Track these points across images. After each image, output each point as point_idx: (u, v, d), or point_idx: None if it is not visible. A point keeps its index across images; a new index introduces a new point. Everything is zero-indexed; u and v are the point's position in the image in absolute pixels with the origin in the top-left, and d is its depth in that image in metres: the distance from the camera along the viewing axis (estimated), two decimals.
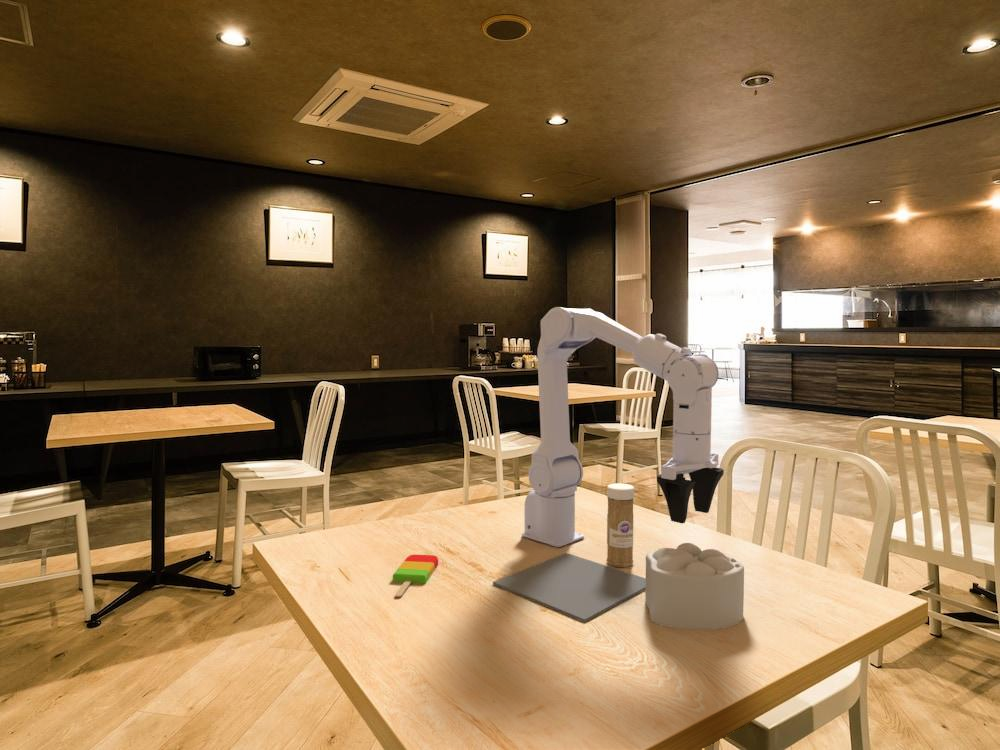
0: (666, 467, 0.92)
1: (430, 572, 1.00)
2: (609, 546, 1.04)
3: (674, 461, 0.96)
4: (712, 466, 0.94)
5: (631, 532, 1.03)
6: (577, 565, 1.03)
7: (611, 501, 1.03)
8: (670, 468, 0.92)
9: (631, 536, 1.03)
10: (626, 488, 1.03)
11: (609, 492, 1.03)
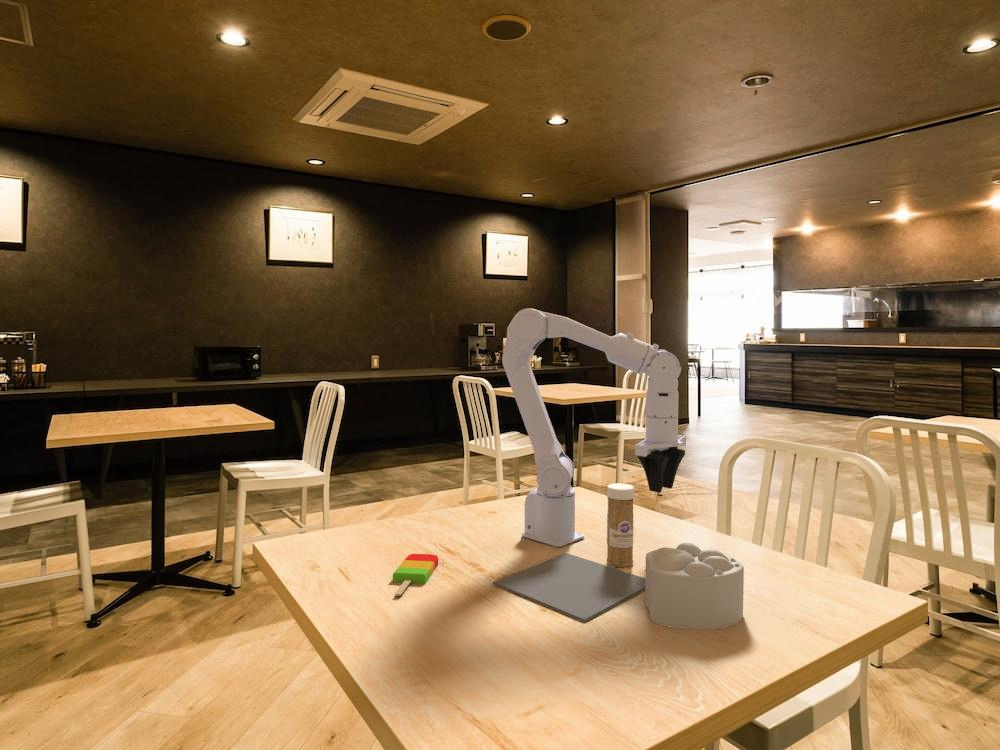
0: (639, 446, 1.08)
1: (430, 571, 1.00)
2: (609, 546, 1.04)
3: (646, 441, 1.12)
4: (678, 445, 1.10)
5: (631, 532, 1.03)
6: (577, 565, 1.03)
7: (611, 501, 1.03)
8: (642, 446, 1.07)
9: (631, 536, 1.03)
10: (626, 488, 1.03)
11: (609, 492, 1.03)
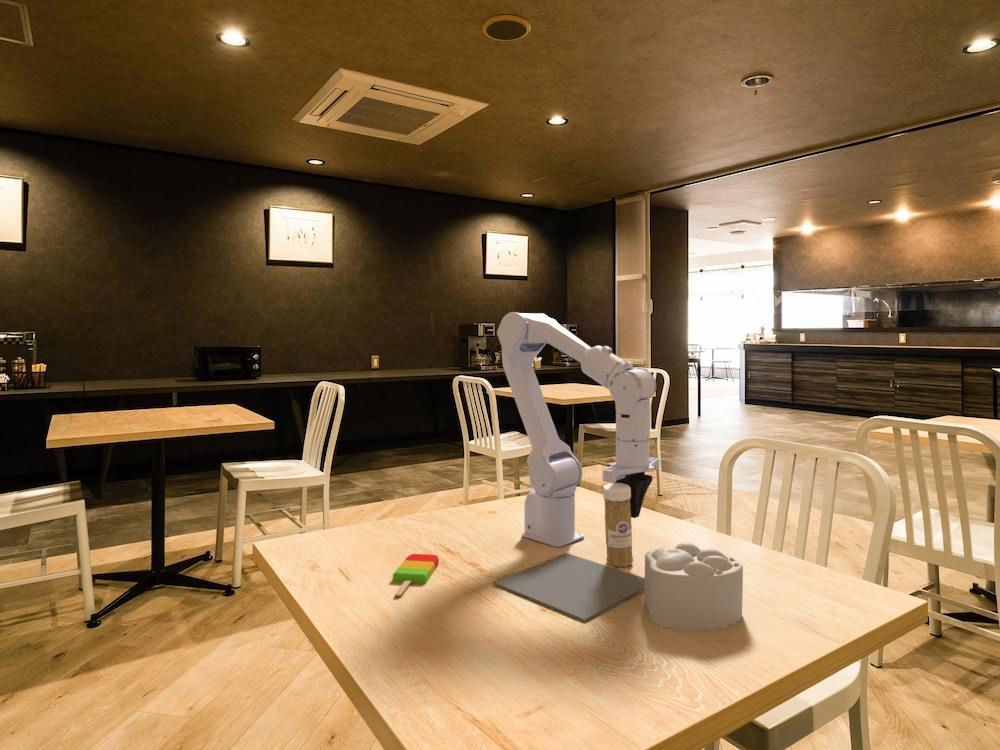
0: (607, 471, 1.01)
1: (430, 571, 1.00)
2: (608, 546, 1.04)
3: (616, 465, 1.06)
4: (649, 470, 1.03)
5: (629, 532, 1.03)
6: (577, 565, 1.03)
7: (608, 502, 1.02)
8: (610, 472, 1.01)
9: (629, 536, 1.03)
10: (622, 489, 1.02)
11: (605, 494, 1.02)
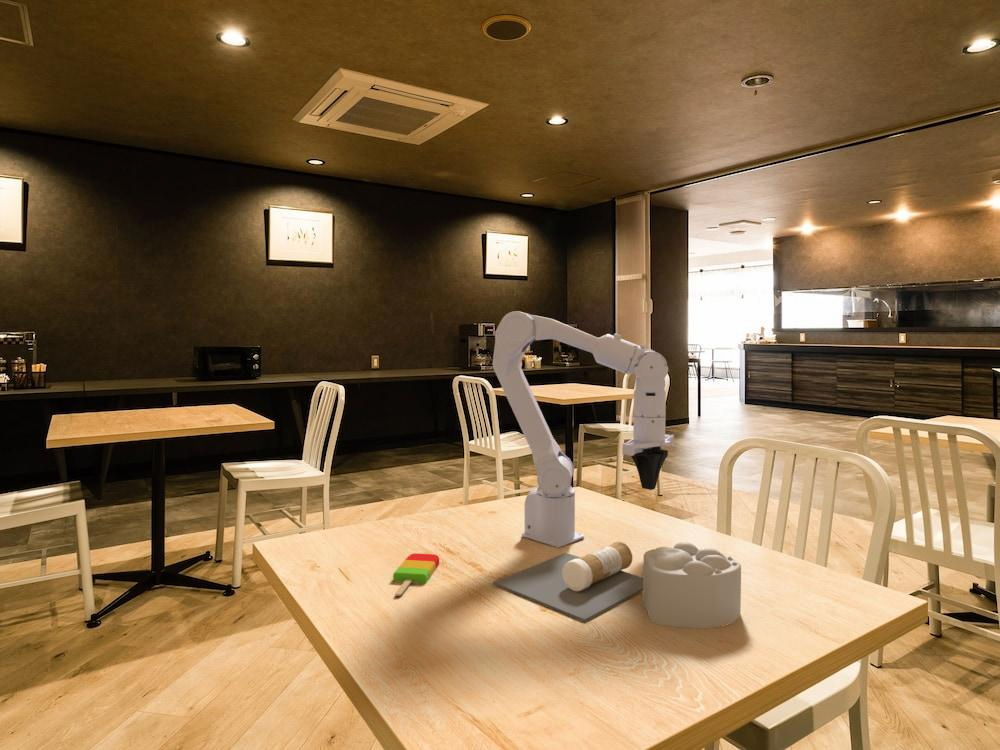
0: (626, 445, 1.09)
1: (431, 571, 1.00)
2: None
3: (634, 441, 1.13)
4: (665, 444, 1.10)
5: (609, 575, 0.97)
6: None
7: None
8: (629, 446, 1.08)
9: (612, 574, 0.97)
10: (576, 588, 0.92)
11: None
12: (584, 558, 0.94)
